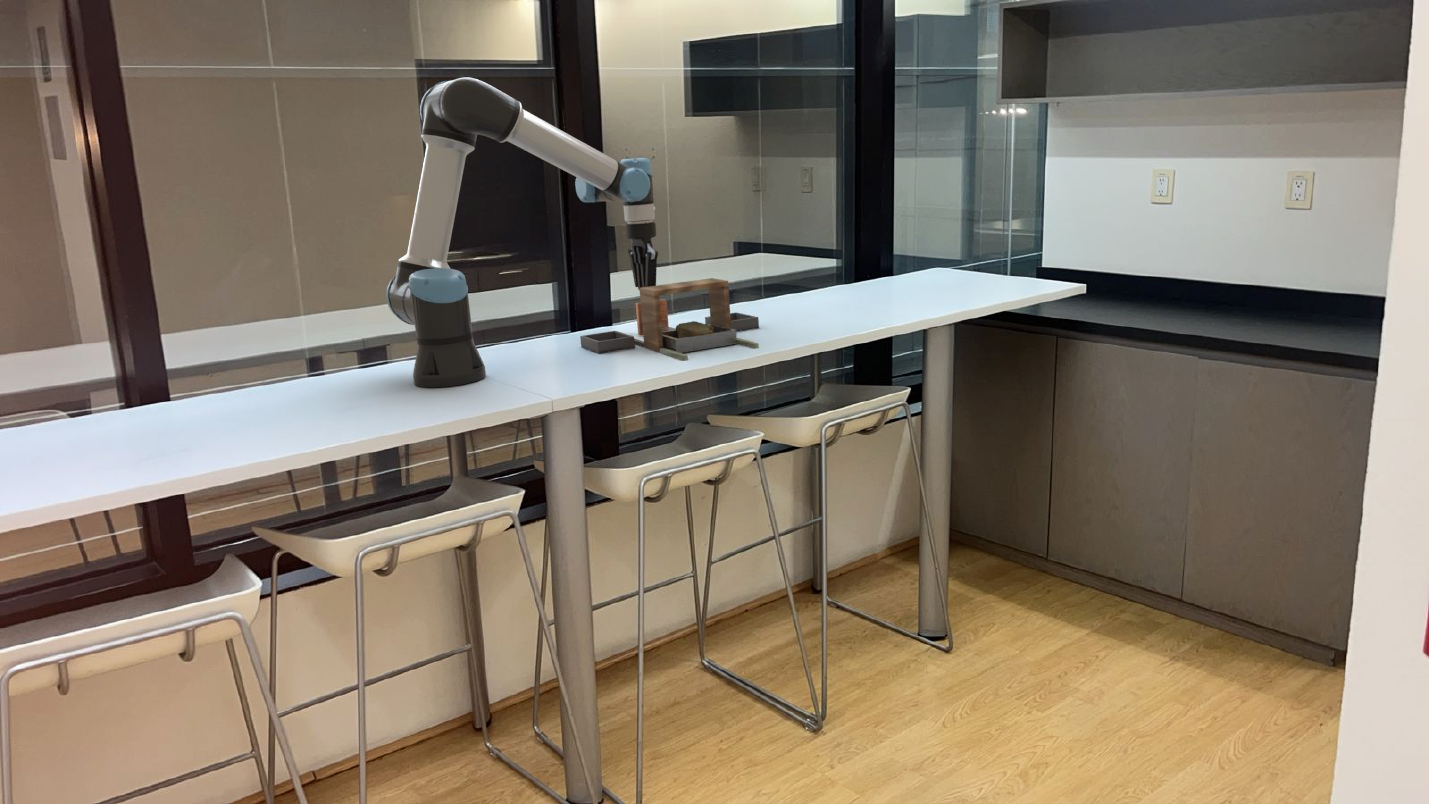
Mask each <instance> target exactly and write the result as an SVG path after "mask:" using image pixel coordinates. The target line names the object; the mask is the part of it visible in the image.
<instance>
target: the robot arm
mask: <svg viewBox="0 0 1429 804" xmlns="http://www.w3.org/2000/svg"><path fill="white" fill-rule="evenodd" d="M419 113H420V119H421V121H422V123H423V126H422V130H421V136H420V137H421V139H422V141H423V142H424V144H425V147H426V148H425V153H424V159H423V163H422V165H423V166H422V171H421V175H420V181H419V186H418V187H419V188H418V191H417V196H416V197H417V198H416V204H415V208H414V213H413V214H414V215H413V219H412V223H411V224H412V225H411V231H410V236H409V241H408V247H407V252H406V254H405V255H403V256H402V257H400V258H399V259H398V262H397V266H396V272H395V275H394V277H393V278H391V280H390V281H389V283H388V285H387V288H386V295H385V296H386V297H385V298H386V302H387V305H388V308H389V311H391V313H392V314H393V315H394V316H395V317H397V318H398V319H399V320H400V321H402V322H404V323H406V324H408V325H412V326H414V328H415V335H416V343H417V344H416V345H417V350H416V357H415V361H414V362H415V363H414V367H413V371H412V372H413V373H412V376H413V384H414V385H415V386H417V387H421V388H444V387H445V388H446V387H447V388H448V387H454V386H455V387H456V386H461V385H466V384H471V383H474V382H477V381H481V380H483V379H485V378H486V377H487V374H486V366H485V364H484V363H485V362H483V359H482V357H481V355H480V353H479V350H478V349H477V347H476V344H475V340H474V336H473V335H474V334H473V328H472V327H473V326H472V318H471V317H472V316H471V310H470V308H471V307H470V301H469V300H470V299H469V294H468V292H469V288H468V287H469V286H468V284H467V280H466V277H465V275H464V273H463V272H462V271H460V270H457V269H453V268H451V267H450V266H449V264H448V262H447V260H448V256H449V251H450V250H449V249H450V245H451V239H452V233H453V229H454V223H455V217H456V214H457V213H456V212H457V208H458V207H457V206H458V202H459V195H460V190H461V185H462V180H463V174H464V169H465V163H466V158H467V156H468V155H469V154H470V153H472V152H473V151H475V149H476V148H475V147H476V143H477V137H478V136H479V135H480V136H484V137H486V138H490V139H492V140H494V141H496V142H498V143H499V144H500V143H505V142H508V143H510V144H512V145H515V146H516V147H517V148H520V149H522V150H523V151H526V152H528V153H529V154H532V155H534V156H535V157H537V158H539V159H541V160H543V161H544V162H547V163H549V164H551V165H553V166H555V167H557V168H559V169H560V170H563V171H564V172H567V173H568V174H570V175H572V176H574V177H576V178H575V182H574V184H575V185H574V186H575V192H576V195H577V197H578V198H579V200H580V201H581V202H583V203H597V202H622V203H623V215H624V218H623V219H624V221H625V222H627V223H625V225H624V226H625V237H626V239H628V240H631V248H630V249H628V250H627V253H628V257H629V259H630V266H631V270H632V276H633V281H634V282H633V283H634V286H635V287H636V288H637V290H638V291H640V289H639V288H642V287H650V286H657V270H658V269H657V265H658V263H657V262H658V256H659V253H658V250H654V249H653V246H654V245H653V242H652V238H655V237H656V236H657V225H656V222H655V221H653V220H655V218H656V215H655V214H656V213H655V211H656V207H655V203H654V202H655V201H654V200H655V199H654V187H653V186H654V185H653V172H652V165H651V161H650V159H648V157H647V158H646V157H637V158H624V159H620V162H619V160H615V159H614V158H612V157H610V156H608V155H606V154H605V153H603V152H602V151H600V150H597V149H596V148H594V147H592V146H591V145H588V144H587V143H586V142H583V141H581V140H579V139H577V137H574V136H572V135H571V134H569V133H567V132H565V131H563V130H561V129H560V128H558V127H556V126H554V125H552V124H551V123H549V122H547V121H545V120H543V119H541V118H539V117H538V116H536V115H534V114H532V113H531V112H529V111H527V110H525V109H524V108H523V106H522V103H521V102H520V101H518V100H517V99H515V98H513V97H511V96H510V95H508V94H507V93H505V92H503V91H502V90H499V89H497V87H494V86H492V85H490V84H488V83H486V82H484V81H483V80H479V79H477V78H473V77H469V76H468V77H459V78H456V79H453V80H444V81H441V82H438V83H436V84H435V85H433V86H432V87H430V88H429V89H428V90H427V91H426V92H425V93H424V95H423V97H422V99H421V102H420V106H419Z"/></svg>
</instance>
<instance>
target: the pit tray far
mask: <svg viewBox="0 0 1429 804" xmlns="http://www.w3.org/2000/svg"><path fill="white" fill-rule="evenodd" d="M730 318H731V329H734V330H736V333H738V332H745V331H750V330H756V329H760V323H759V322H760V320H759V317H758V316H755V315H750V314H746V313H742V312H741V313H740V312H737V311H736V312H730ZM704 324H707V325H709V324H711V320H710V316H705V317H704Z"/></svg>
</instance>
